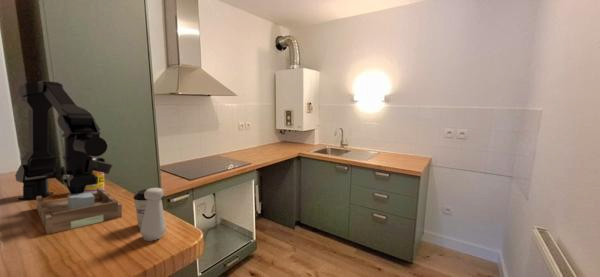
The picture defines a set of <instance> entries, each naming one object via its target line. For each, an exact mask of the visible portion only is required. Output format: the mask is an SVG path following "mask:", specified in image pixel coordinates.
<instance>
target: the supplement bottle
mask: <svg viewBox="0 0 600 277" xmlns="http://www.w3.org/2000/svg"><path fill="white" fill-rule="evenodd" d="M93 159H94V160H95V159H96V158H93ZM92 174H94V175H95V176H97V177H98V183H97V184H93V185H87V186H86V187H85V189H84V192H90V193H91V194H94V193H97V188H98V187H101V188H102V189H103V190H104V191H105V173H104V172H98V171H93V173H92ZM84 192H83V193H84Z"/></svg>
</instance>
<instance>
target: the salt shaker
mask: <svg viewBox="0 0 600 277" xmlns="http://www.w3.org/2000/svg"><path fill="white" fill-rule="evenodd" d="M146 189H147V190H146V191H145V193H144V197H145V199H147V204H146V208H145V212H144V217H143V221H142V225H141V228H139V230H140V234H141V237H142V238H143V240H144V241H147V242H154V241H158V240H160V239H161V238H162V237H163V236H164V234H165V231H166V229H167V222H166V218H165V213H164V212H165V211H164V207H163V202H162V198H163V197H164V195H165V194H164V192H165V191H164V189H163V188H160V187H151V188H146ZM157 239H158V240H157ZM153 240H154V241H153Z"/></svg>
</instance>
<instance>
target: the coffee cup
mask: <svg viewBox="0 0 600 277" xmlns="http://www.w3.org/2000/svg"><path fill="white" fill-rule="evenodd" d="M147 189H148V188H146V189H145V188H144V189H141V190H139V191H137V193H135V194H134V195H133V200H134V206H135V213H136V220H137V227H138V228H139V229H141V225H142V221H143V217H144V212H145V208H146V204H147V199H145V197H144V193H145V191H146V190H147Z"/></svg>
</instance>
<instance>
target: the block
mask: <svg viewBox="0 0 600 277" xmlns="http://www.w3.org/2000/svg"><path fill="white" fill-rule="evenodd" d="M67 198H68V210H72V209H77V208H82V207H88V206H93V205H94V196H93V195H92V194H91V193H90V192H84V193H77V194H71V193H70V194H67Z"/></svg>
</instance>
